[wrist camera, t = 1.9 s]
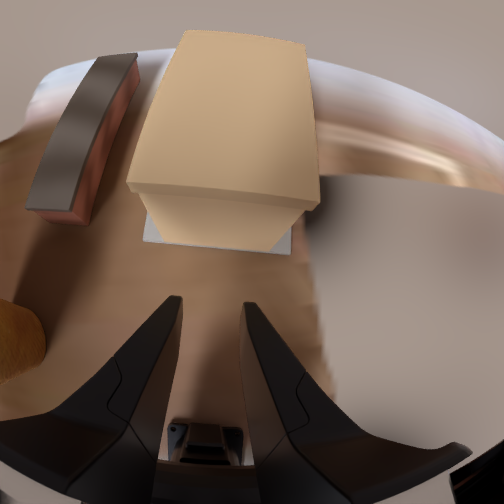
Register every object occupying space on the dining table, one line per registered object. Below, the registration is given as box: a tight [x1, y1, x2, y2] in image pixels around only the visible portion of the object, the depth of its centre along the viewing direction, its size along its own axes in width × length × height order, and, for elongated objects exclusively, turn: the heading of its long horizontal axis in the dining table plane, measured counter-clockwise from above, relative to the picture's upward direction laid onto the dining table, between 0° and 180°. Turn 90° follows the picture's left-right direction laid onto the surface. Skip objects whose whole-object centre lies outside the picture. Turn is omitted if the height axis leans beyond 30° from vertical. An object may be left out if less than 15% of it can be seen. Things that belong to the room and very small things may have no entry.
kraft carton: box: [126, 30, 320, 252], centre depth 19 cm, size 14×9×11 cm, turn 176°
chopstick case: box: [25, 53, 140, 226], centre depth 22 cm, size 20×5×5 cm, turn 176°
